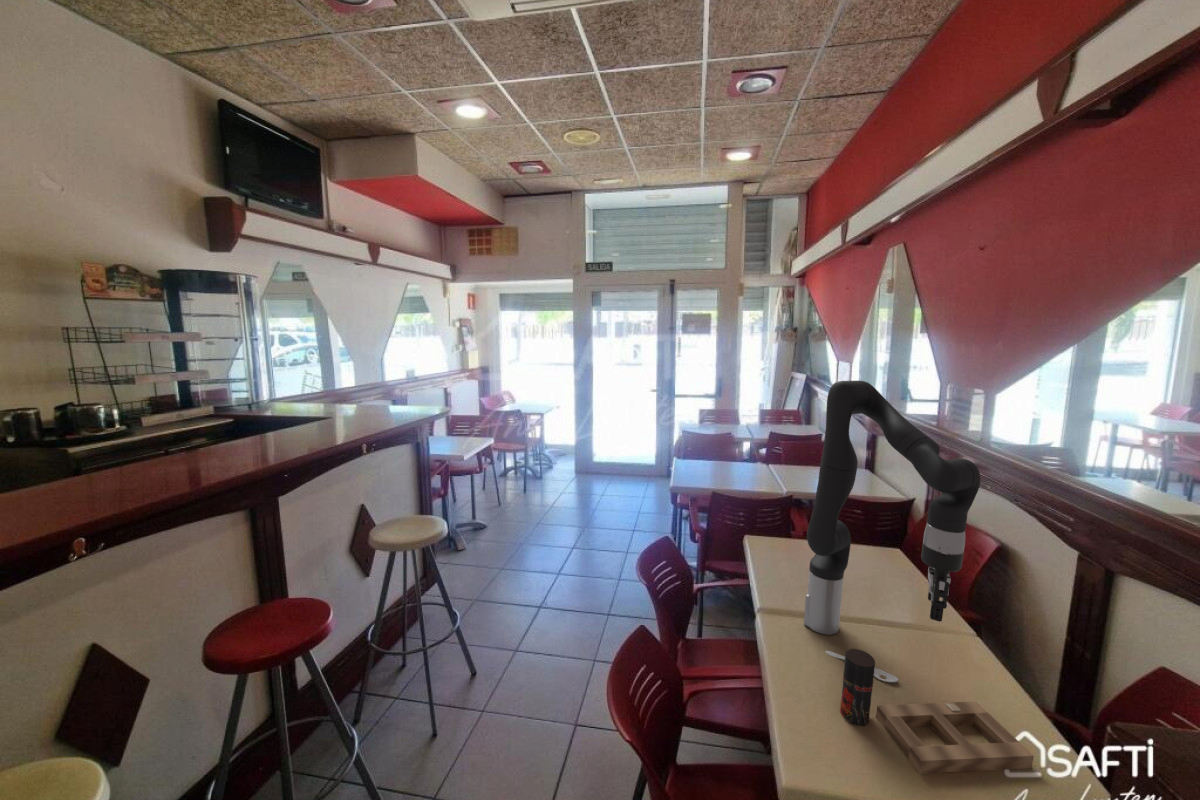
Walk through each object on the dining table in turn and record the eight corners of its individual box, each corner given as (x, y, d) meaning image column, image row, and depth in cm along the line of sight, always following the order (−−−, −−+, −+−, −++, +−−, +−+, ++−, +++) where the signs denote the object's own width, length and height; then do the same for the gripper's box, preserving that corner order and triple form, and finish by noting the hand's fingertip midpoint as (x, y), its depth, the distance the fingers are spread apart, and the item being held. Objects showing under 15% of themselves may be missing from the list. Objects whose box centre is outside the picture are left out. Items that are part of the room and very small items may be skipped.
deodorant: (872, 728, 106) (879, 668, 103) (844, 723, 107) (850, 664, 104) (863, 707, 111) (869, 650, 109) (836, 703, 113) (842, 647, 110)
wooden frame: (919, 773, 95) (921, 759, 94) (875, 716, 109) (877, 704, 108) (1031, 768, 96) (1034, 754, 96) (974, 712, 110) (976, 700, 109)
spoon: (896, 690, 117) (896, 684, 117) (811, 650, 131) (811, 645, 131) (899, 681, 120) (900, 675, 120) (816, 643, 134) (817, 638, 134)
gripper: (921, 529, 114) (914, 590, 117) (924, 553, 102) (915, 620, 105) (960, 537, 110) (951, 600, 113) (968, 562, 98) (957, 632, 101)
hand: (934, 610), depth 109 cm, fingers open, 8 cm apart
